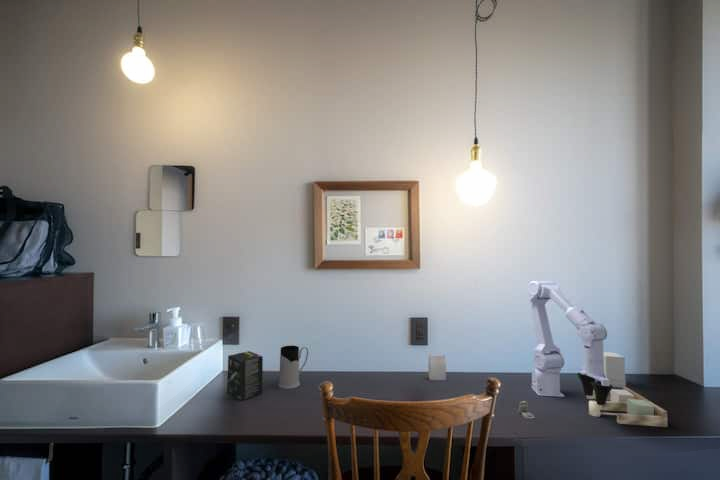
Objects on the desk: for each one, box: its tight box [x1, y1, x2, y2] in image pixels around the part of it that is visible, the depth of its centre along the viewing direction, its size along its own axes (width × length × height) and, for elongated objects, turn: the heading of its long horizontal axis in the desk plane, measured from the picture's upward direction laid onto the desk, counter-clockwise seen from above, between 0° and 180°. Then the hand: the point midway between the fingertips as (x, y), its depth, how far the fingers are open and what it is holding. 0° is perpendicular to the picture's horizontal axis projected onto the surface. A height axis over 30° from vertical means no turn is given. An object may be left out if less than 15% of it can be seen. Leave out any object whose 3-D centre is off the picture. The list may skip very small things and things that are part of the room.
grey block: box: [610, 388, 634, 402], centre depth 121 cm, size 5×5×5 cm
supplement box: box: [603, 351, 627, 389], centre depth 142 cm, size 7×7×13 cm
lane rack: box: [585, 386, 669, 428], centre depth 117 cm, size 14×20×5 cm
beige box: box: [427, 354, 447, 381], centre depth 146 cm, size 4×7×10 cm, turn 90°
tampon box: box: [226, 350, 264, 402], centre depth 129 cm, size 11×9×15 cm
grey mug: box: [277, 345, 309, 390], centre depth 141 cm, size 9×14×15 cm, turn 139°
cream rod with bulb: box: [588, 399, 654, 418], centre depth 112 cm, size 18×5×5 cm, turn 82°
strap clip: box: [513, 400, 535, 420], centre depth 115 cm, size 8×3×4 cm, turn 3°
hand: (594, 399), depth 114 cm, fingers open, 7 cm apart
